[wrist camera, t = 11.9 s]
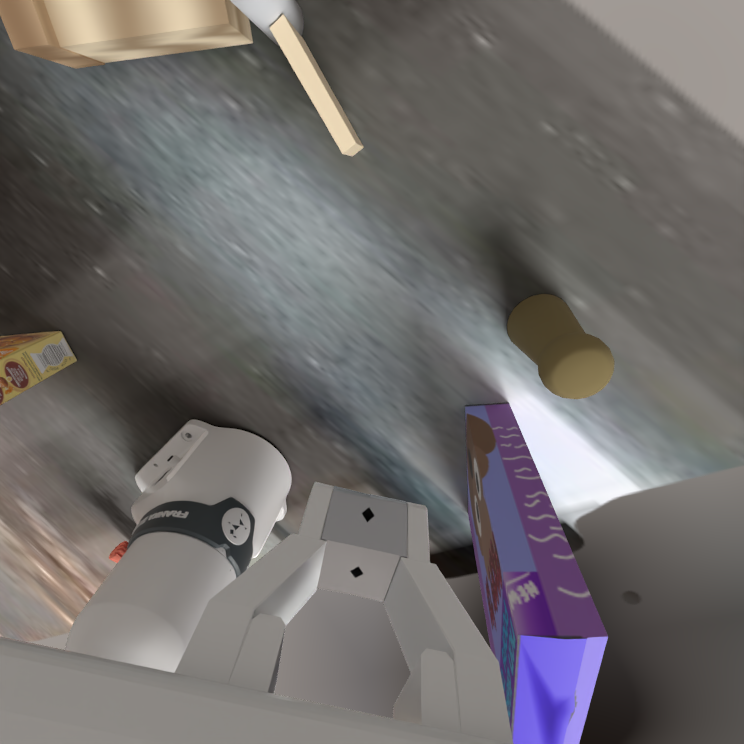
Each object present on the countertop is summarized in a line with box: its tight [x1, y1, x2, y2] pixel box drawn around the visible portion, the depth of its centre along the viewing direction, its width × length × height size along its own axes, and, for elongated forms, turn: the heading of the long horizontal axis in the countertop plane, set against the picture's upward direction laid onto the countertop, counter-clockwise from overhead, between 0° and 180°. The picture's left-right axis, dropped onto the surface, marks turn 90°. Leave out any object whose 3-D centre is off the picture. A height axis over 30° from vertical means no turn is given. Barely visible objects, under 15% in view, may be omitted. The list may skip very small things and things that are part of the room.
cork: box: [507, 294, 614, 399], centre depth 32 cm, size 6×6×11 cm
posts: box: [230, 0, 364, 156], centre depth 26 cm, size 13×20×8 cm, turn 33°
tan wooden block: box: [0, 0, 253, 68], centre depth 26 cm, size 15×3×5 cm, turn 94°
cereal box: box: [465, 403, 608, 744], centre depth 35 cm, size 17×5×24 cm, turn 8°
